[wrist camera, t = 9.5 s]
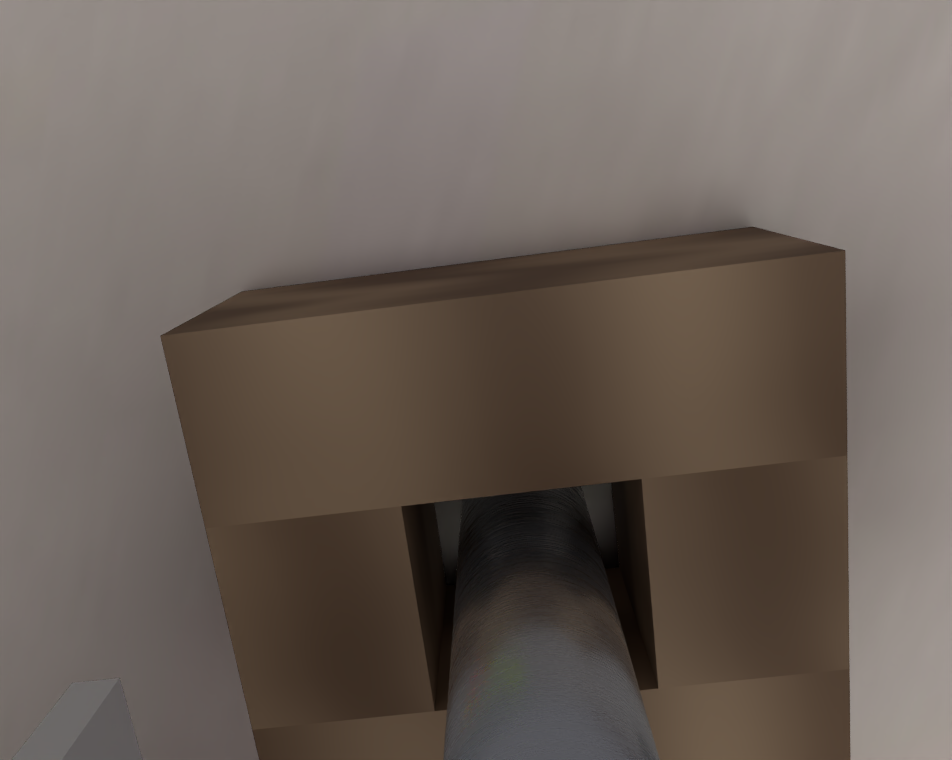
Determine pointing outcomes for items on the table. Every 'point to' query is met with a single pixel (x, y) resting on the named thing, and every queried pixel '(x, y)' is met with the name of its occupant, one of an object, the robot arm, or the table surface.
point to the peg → (538, 638)
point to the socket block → (534, 481)
